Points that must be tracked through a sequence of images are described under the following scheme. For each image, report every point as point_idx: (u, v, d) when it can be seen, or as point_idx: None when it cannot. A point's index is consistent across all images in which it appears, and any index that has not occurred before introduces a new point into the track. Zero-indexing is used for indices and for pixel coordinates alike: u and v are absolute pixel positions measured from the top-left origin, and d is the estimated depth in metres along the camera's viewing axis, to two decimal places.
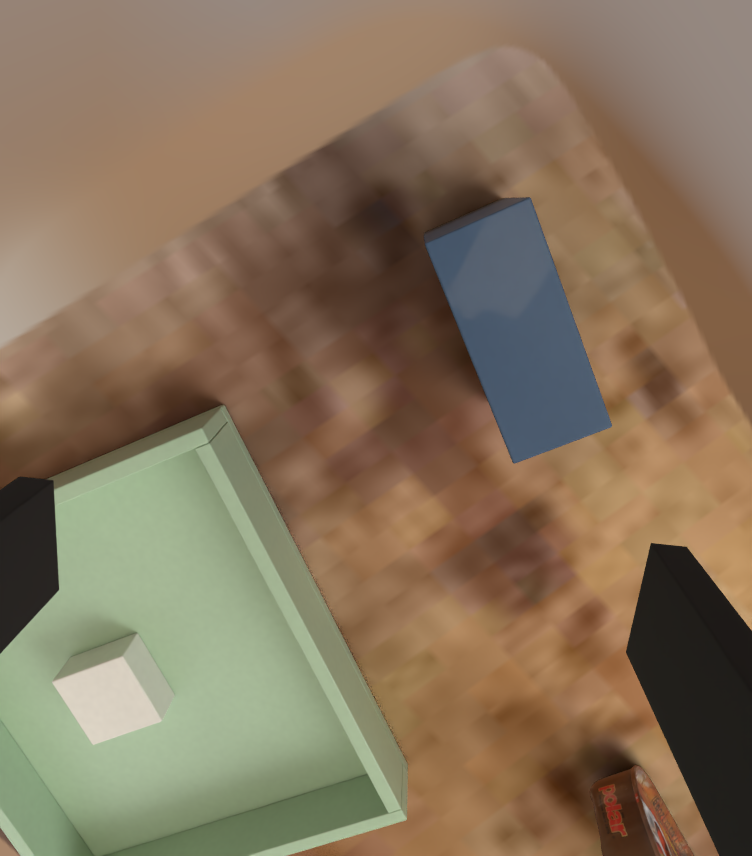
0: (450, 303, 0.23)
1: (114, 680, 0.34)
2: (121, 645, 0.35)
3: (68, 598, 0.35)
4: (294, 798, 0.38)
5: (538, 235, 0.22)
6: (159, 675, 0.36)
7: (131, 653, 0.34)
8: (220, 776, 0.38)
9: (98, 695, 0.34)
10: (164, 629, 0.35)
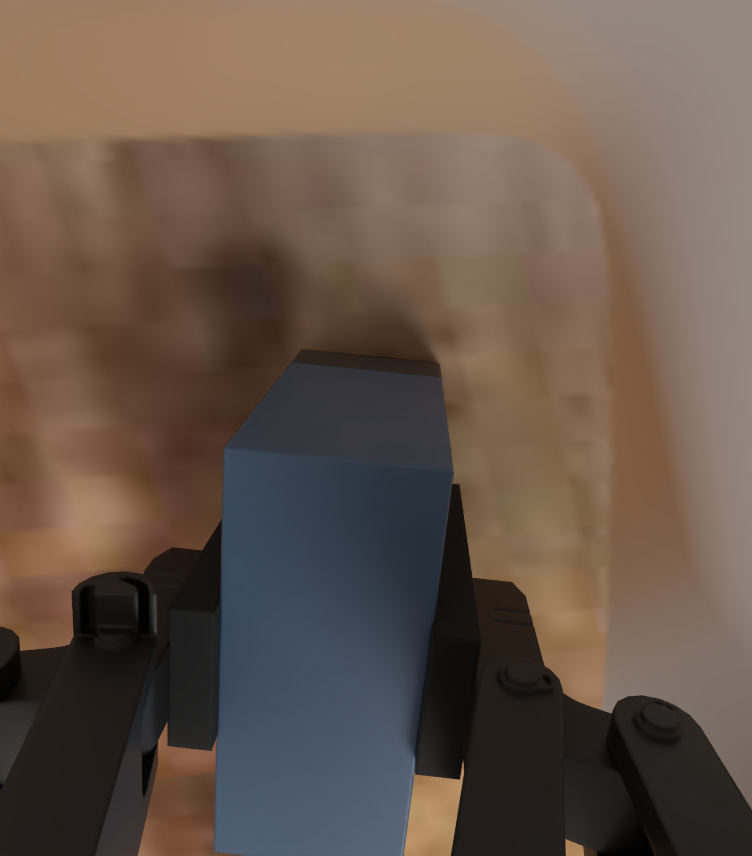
0: (223, 568, 0.11)
1: None
2: None
3: None
4: None
5: (434, 540, 0.11)
6: None
7: None
8: None
9: None
10: None
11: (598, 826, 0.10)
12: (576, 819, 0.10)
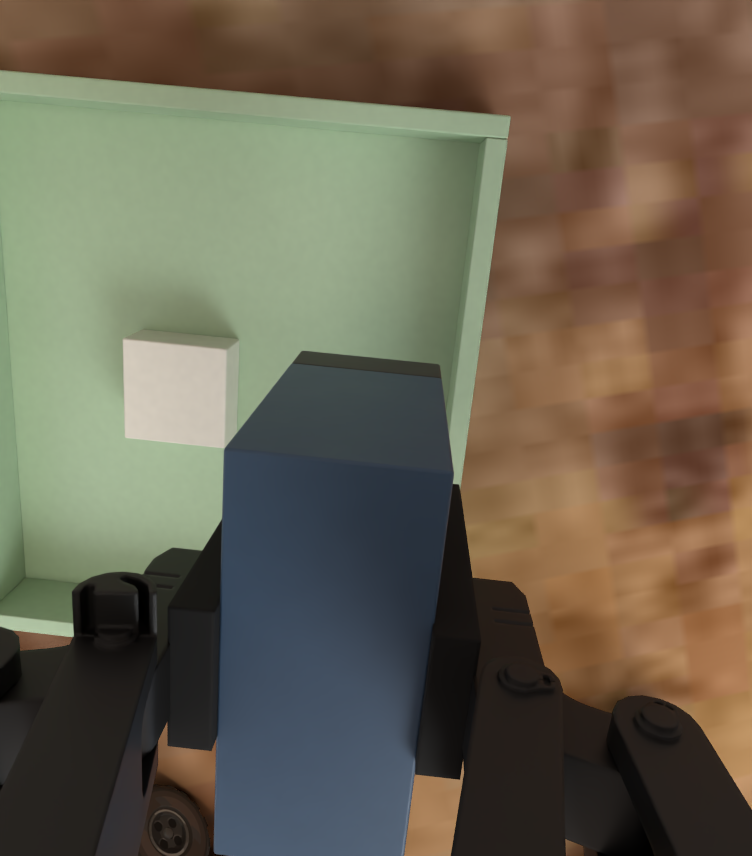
0: (223, 570, 0.11)
1: (199, 373, 0.27)
2: (220, 341, 0.28)
3: (182, 258, 0.28)
4: None
5: (434, 542, 0.11)
6: (236, 400, 0.29)
7: (231, 354, 0.27)
8: None
9: (169, 382, 0.27)
10: (272, 351, 0.29)
11: (598, 826, 0.10)
12: (577, 819, 0.10)
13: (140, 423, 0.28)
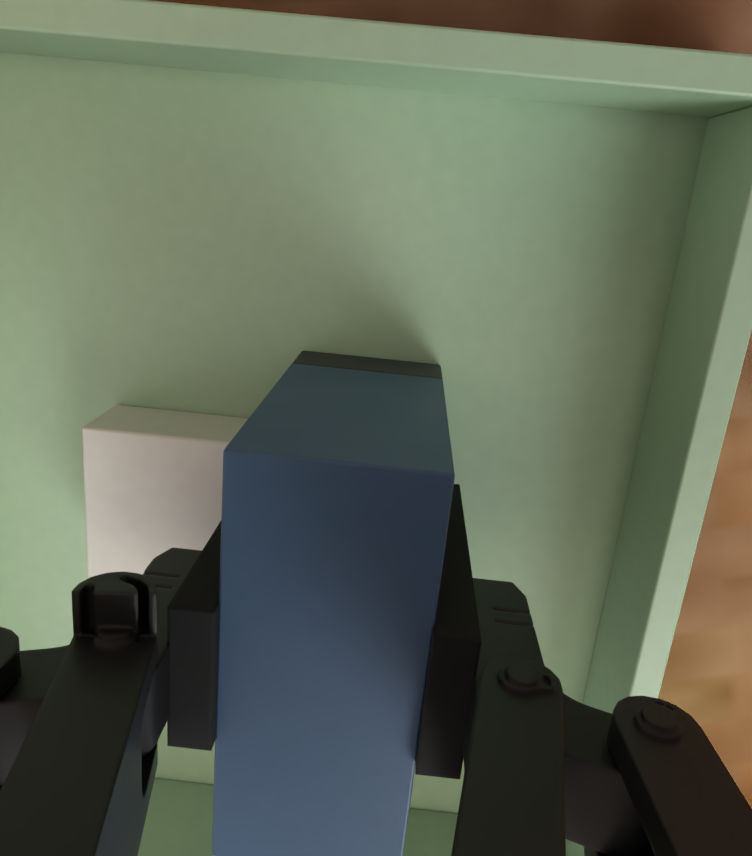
0: (222, 571, 0.11)
1: (205, 482, 0.17)
2: (239, 428, 0.18)
3: (215, 299, 0.18)
4: None
5: (435, 544, 0.11)
6: None
7: None
8: None
9: (158, 495, 0.17)
10: None
11: (598, 826, 0.10)
12: (577, 820, 0.10)
13: (112, 556, 0.18)
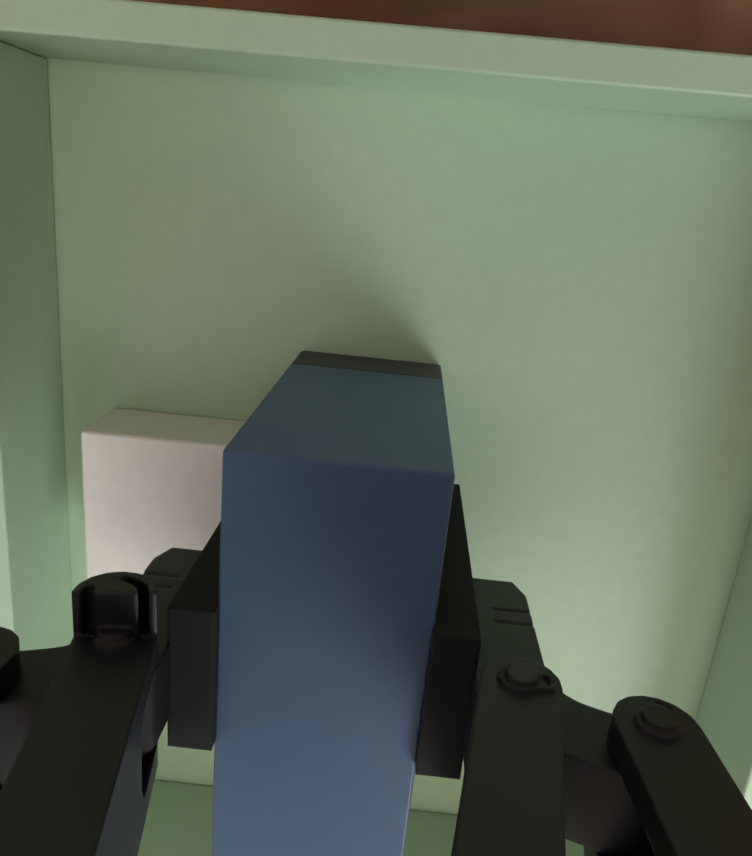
0: (221, 572, 0.11)
1: (204, 486, 0.17)
2: (237, 431, 0.18)
3: (346, 313, 0.17)
4: None
5: (435, 545, 0.11)
6: None
7: None
8: None
9: (157, 498, 0.17)
10: (477, 456, 0.18)
11: (598, 826, 0.10)
12: (576, 819, 0.10)
13: (111, 560, 0.18)
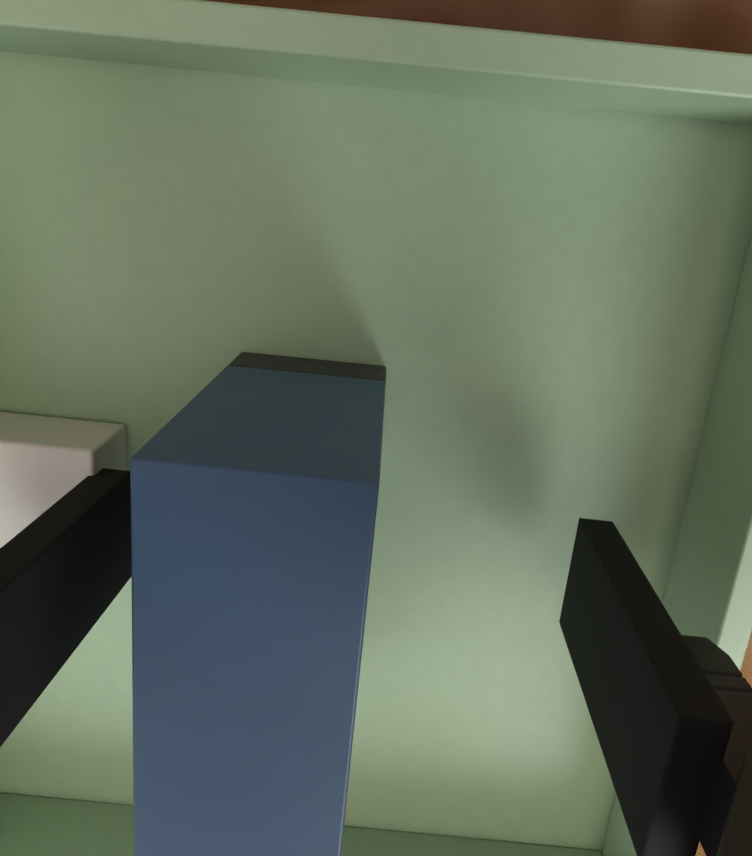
0: (133, 588, 0.11)
1: (47, 491, 0.16)
2: (89, 433, 0.17)
3: (260, 314, 0.17)
4: (412, 834, 0.21)
5: (360, 557, 0.10)
6: None
7: (105, 456, 0.16)
8: None
9: None
10: (401, 461, 0.18)
11: None
12: None
13: None
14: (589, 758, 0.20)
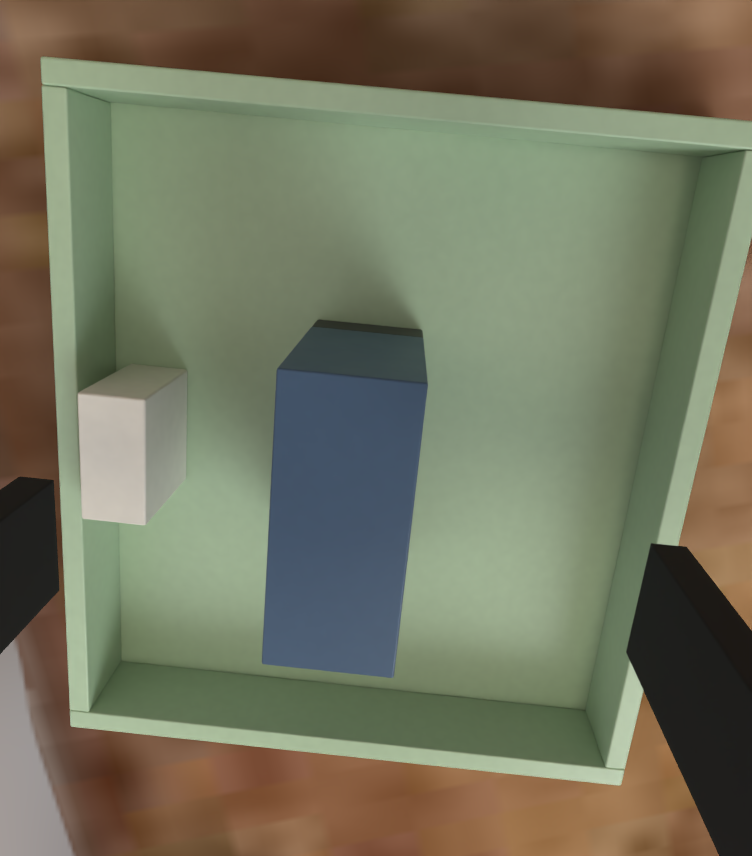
0: (274, 452, 0.17)
1: None
2: (120, 391, 0.21)
3: (332, 291, 0.23)
4: (438, 696, 0.28)
5: (415, 431, 0.17)
6: (134, 479, 0.21)
7: (99, 407, 0.21)
8: None
9: None
10: (432, 401, 0.24)
11: None
12: None
13: None
14: (574, 634, 0.27)
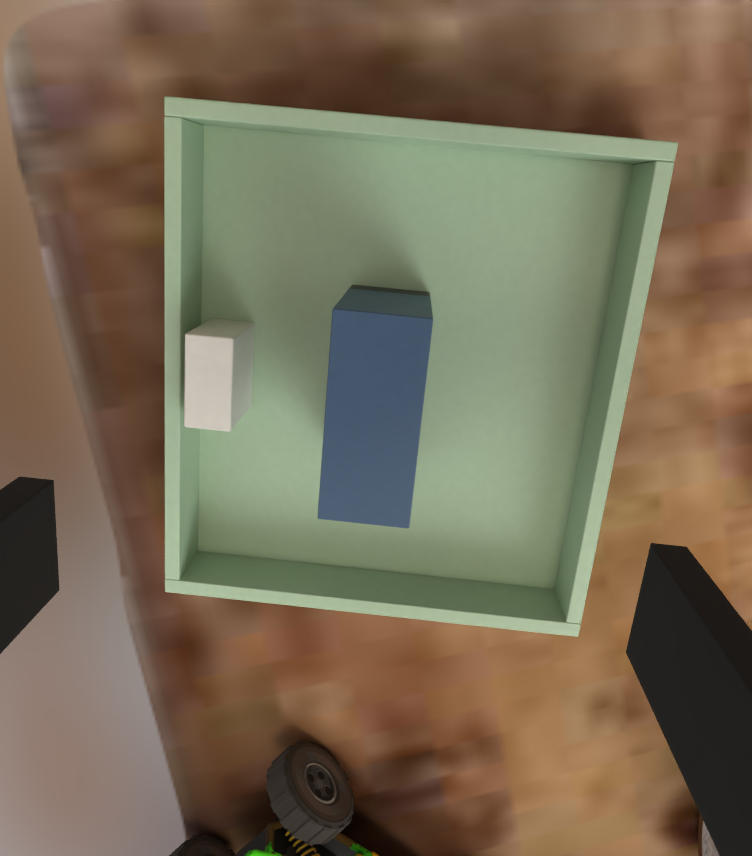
0: (329, 366, 0.25)
1: None
2: (214, 333, 0.29)
3: (363, 263, 0.32)
4: (441, 578, 0.36)
5: (425, 351, 0.25)
6: (224, 397, 0.30)
7: (200, 344, 0.29)
8: None
9: None
10: (437, 346, 0.32)
11: None
12: None
13: None
14: (545, 528, 0.35)
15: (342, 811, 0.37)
